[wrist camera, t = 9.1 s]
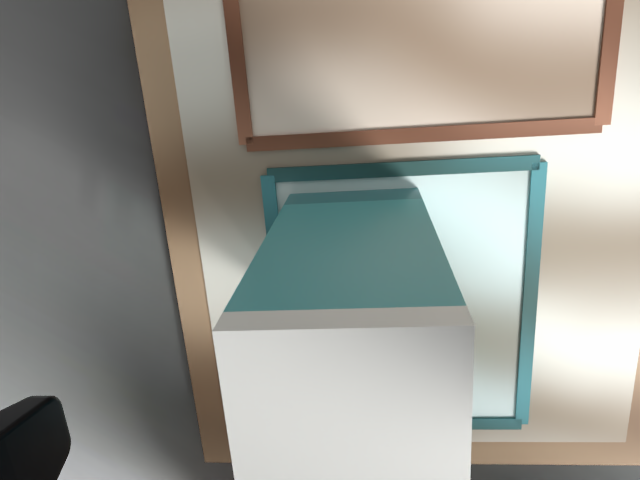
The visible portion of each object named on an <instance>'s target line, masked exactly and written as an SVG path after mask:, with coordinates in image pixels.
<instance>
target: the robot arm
mask: <svg viewBox="0 0 640 480" xmlns="http://www.w3.org/2000/svg"><path fill="white" fill-rule="evenodd" d="M70 446H71V438H70V434H69V430H68V426H67V422H66V419H65V415H64V411H63V407H62V404H61V401H60V400H59V399H58V398H57V397H55V396H31V397H28V398H25V399H23V400H21V401H19V402H17V403H15V404H13V405H11V406H9V407H7V408H5V409H3V410H1V411H0V480H57V479H58V477H59V474H60V472H61V470H62V468H63V466H64V463H65V461H66V459H67V457H68V454H69V451H70Z"/></svg>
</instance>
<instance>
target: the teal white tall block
mask: <svg viewBox="0 0 640 480" xmlns="http://www.w3.org/2000/svg"><path fill="white" fill-rule="evenodd" d="M212 335H213V342H214V348H215V355H216V362H217V368H218V375H219V381H220V388H221V394H222V401H223V408H224V414H225V421H226V427H227V434H228V440H229V447H230V454H231V460H232V467H233V473H234V480H470V476H471V441H472V407H473V373H474V338H475V325H474V322H473V320H472V317H471V315H470V313H469V310H468V308H467V305H466V303H465V301H464V298H463V296H462V293H461V291H460V288H459V286H458V284H457V281H456V279H455V276H454V274H453V271H452V269H451V267H450V264H449V262H448V259H447V257H446V255H445V252H444V250H443V247H442V245H441V242H440V240H439V238H438V235H437V233H436V230H435V228H434V226H433V223H432V221H431V218H430V216H429V213H428V211H427V209H426V206H425V204H424V201H423V199H422V197H421V194H420V192H419V189H418V188H401V189H380V190H360V191H339V192H318V193H297V194H290V195H289V196H288V198H287V200H286V202H285V203H284V205H283V207H282V209H281V210H280V212H279V214H278V216H277V217H276V219H275V221H274V223H273V225H272V226H271V228H270V230H269V232H268V233H267V235H266V237H265V239H264V240H263V242H262V244H261V246H260V247H259V249H258V251H257V253H256V254H255V256H254V258H253V260H252V262H251V263H250V265H249V267H248V269H247V270H246V272H245V274H244V276H243V277H242V279H241V281H240V283H239V284H238V286H237V288H236V290H235V292H234V293H233V295H232V297H231V299H230V300H229V302H228V304H227V306H226V307H225V309H224V311H223V313H222V314H221V316H220V318H219V320H218V321H217V323H216V325H215V327H214V329H213V330H212Z"/></svg>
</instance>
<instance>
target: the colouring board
mask: <svg viewBox="0 0 640 480" xmlns="http://www.w3.org/2000/svg"><path fill="white" fill-rule="evenodd" d="M127 3H128V9H129V15H130V21H131V27H132V33H133V39H134V45H135V51H136V57H137V63H138V69H139V74H140V80H141V86H142V92H143V98H144V104H145V110H146V116H147V122H148V128H149V134H150V140H151V146H152V152H153V157H154V163H155V169H156V175H157V181H158V187H159V193H160V199H161V205H162V211H163V217H164V223H165V229H166V235H167V240H168V246H169V252H170V258H171V264H172V270H173V276H174V282H175V288H176V294H177V300H178V306H179V312H180V318H181V323H182V329H183V335H184V341H185V347H186V353H187V359H188V365H189V371H190V377H191V383H192V389H193V395H194V400H195V406H196V412H197V418H198V424H199V430H200V436H201V442H202V448H203V454H204V460H205V462H218V463H232V460H231V454H230V447H229V440H228V434H227V427H226V421H225V414H224V408H223V401H222V394H221V388H220V381H219V375H218V368H217V362H216V355H215V348H214V342H213V335H212V330H213V329H214V327H215V325H216V323H217V321H218V320H219V318H220V316H221V314H222V313H223V311H224V309H225V307H226V306H227V304H228V302H229V300H230V299H231V297H232V295H233V293H234V292H235V290H236V288H237V286H238V284H239V283H240V281H241V279H242V277H243V276H244V274H245V272H246V270H247V269H248V267H249V265H250V263H251V262H252V260H253V258H254V256H255V254H256V253H257V251H258V249H259V247H260V246H261V244H262V242H263V240H264V239H265V237H266V235H267V233H268V232H269V230H270V228H271V226H272V225H273V223H274V221H275V219H276V217H277V216H278V214H279V212H280V210H281V209H282V207H283V205H284V203H285V202H286V200H287V198H288V196H289V195H290V194H297V193H318V192H339V191H360V190H380V189H401V188H418V189H419V192H420V194H421V197H422V199H423V201H424V204H425V206H426V209H427V211H428V213H429V216H430V218H431V221H432V223H433V226H434V228H435V230H436V233H437V235H438V238H439V240H440V242H441V245H442V247H443V250H444V252H445V255H446V257H447V259H448V262H449V264H450V267H451V269H452V271H453V274H454V276H455V279H456V281H457V284H458V286H459V288H460V291H461V293H462V296H463V298H464V301H465V303H466V305H467V308H468V310H469V313H470V315H471V317H472V320H473V322H474V325H475V338H474V373H473V407H472V441H471V464H513V465H640V0H127Z"/></svg>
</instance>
